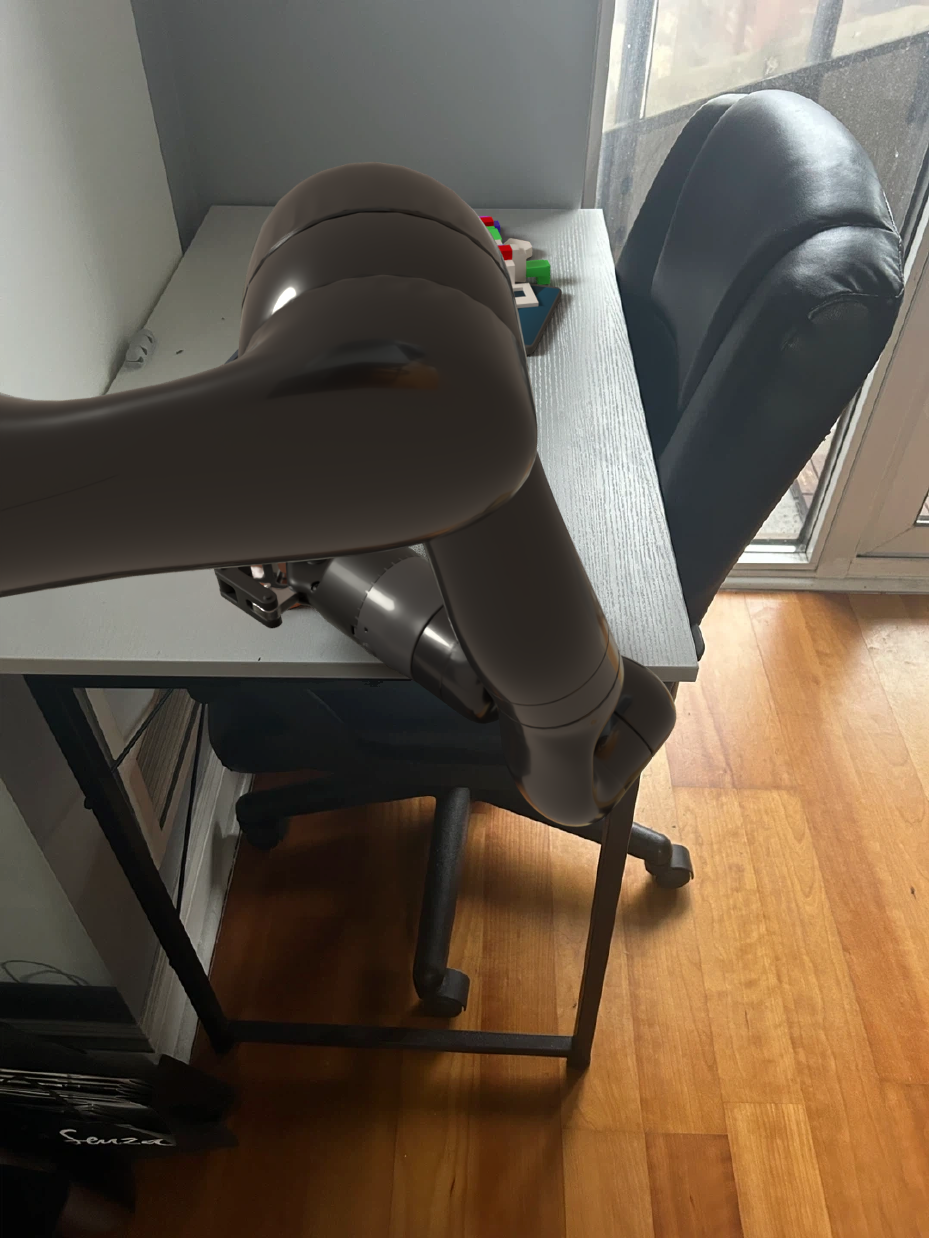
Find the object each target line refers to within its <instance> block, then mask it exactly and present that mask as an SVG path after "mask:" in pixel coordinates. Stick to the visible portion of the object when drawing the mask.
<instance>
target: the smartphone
mask: <svg viewBox="0 0 929 1238" xmlns="http://www.w3.org/2000/svg"><path fill="white" fill-rule="evenodd" d="M528 283H529V284H530V286H531V288H532V290H533V292H534V294H535V296H536V299H537V301H538V306H536V307H525V308H517V309H518V314H519V319H520V324H521V330H522V335H523V340H524V346H525V351H526V356H528V355H532V354H533V353H534V352H535V351H536V349H537V348H538V345H539V343H540V341H541V339H542V337H543V335H544V333H545V331H546V329H547V327H548V325H549V323H550V321H551V319H552V317H553V315H554V313H555V311H556V309H557V306H558V304H559V302H560V301H561V299H562V296H563V292H562V289H561V288H560V287H559V286H556V285H555V286H554V285H549V284H544V285H540V284H537V283H530V282H528ZM515 284H523V282H515ZM514 296H515V297H526V295H525V293H524V291H523V290H522V291H514Z"/></svg>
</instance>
